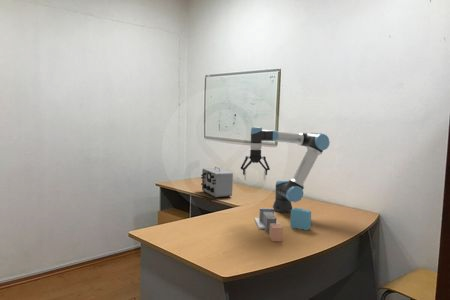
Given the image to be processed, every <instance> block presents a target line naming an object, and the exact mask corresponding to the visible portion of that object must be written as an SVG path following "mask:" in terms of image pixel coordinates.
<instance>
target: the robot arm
mask: <svg viewBox="0 0 450 300" xmlns="http://www.w3.org/2000/svg"><path fill="white" fill-rule="evenodd" d="M263 141H265V142H280V143H287V144H288V143H289V144H295V145H298V146H301V147H306V152H305V154H304V156H303V158H302V159H301V162H300V164H299V166H298V167H297V170H296V172H295V173H294V175H293V177H292V178H290V179H288V180H286V179H285V180H283V179H282V180H277V181H275V192H274V195H275V198H274V202H273V205H272V208H274V212H276V211H277V213H283V212H288V213H291V210H292V209H294V207H293V204H292V203H297V202H299V201H301V200H302V198H303V197H304V189H305V186H304V184H305V182H306V179H307V178H308V176H309V174H310V172H311V171H312V168H313V167H314V164H315V163H316V161H317V159H318V156H320V155H322V154H323V152H324V151H325V150H327V149H328V148H329V147H330V143H331V142H330V138H329V136H328V135H327V134H325V133H321V132H320V133H319V132H299V133H295V132H294V133H293V132H285V131H279V130H278V131H277V130H275V129H263V128H262V127H261V126H252V127H251V130H250V151H249V156H247V155H246V156H245V159H244V160H243V162H242V164H241V165H240V170H242V174H243V177H244V180H247V168H249V166H250V165H251V164H254V163H256V164H257V163H259V164H260V165H261V167H262V168H263V169H264V170H263V181H266V176H268V171H270V170H271V168H270V165H269V164H268V162H267V160H266V158H267V157H266V156H262V143H263ZM249 159H250V160H249ZM248 160H249V161H248ZM261 160H263V161H264V164H265V165H264V164H263V162H262V161H261ZM247 161H248V162H247ZM246 163H247V164H246Z"/></svg>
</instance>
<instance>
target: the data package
mask: <svg viewBox="0 0 450 300" xmlns="http://www.w3.org/2000/svg"><path fill="white" fill-rule="evenodd" d="M311 223H312V211H311V210H309V209H304V208H303V209H302V208H297V207H293V209H292V210H291V212H290V223H289V224H290V227H291V228H292V229H296V228H298V229H297V230H301V229H304V230H303V231H308V230H310V229H311V226H312V224H311Z"/></svg>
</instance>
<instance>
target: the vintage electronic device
mask: <svg viewBox="0 0 450 300" xmlns="http://www.w3.org/2000/svg"><path fill="white" fill-rule="evenodd" d="M233 173H234V172H232V171H228V170H225V169H222V168H220V167H217V166H214V168H202V174H201V178H200V179H201V182H202V183H201V184H200V185H201V190H202V192H204V193H206V194H208V195H210V196H212V197H213V198H215V199H218V198H222V197H227V198H231V197H232V196H233V185H234V184H233V180H234V179H233V177H234V176H233Z"/></svg>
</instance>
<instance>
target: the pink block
mask: <svg viewBox="0 0 450 300" xmlns="http://www.w3.org/2000/svg"><path fill="white" fill-rule="evenodd" d="M269 239H270V241H271V242H283V226H282V225H281V223H279V222H278V223H270V231H269Z"/></svg>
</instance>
